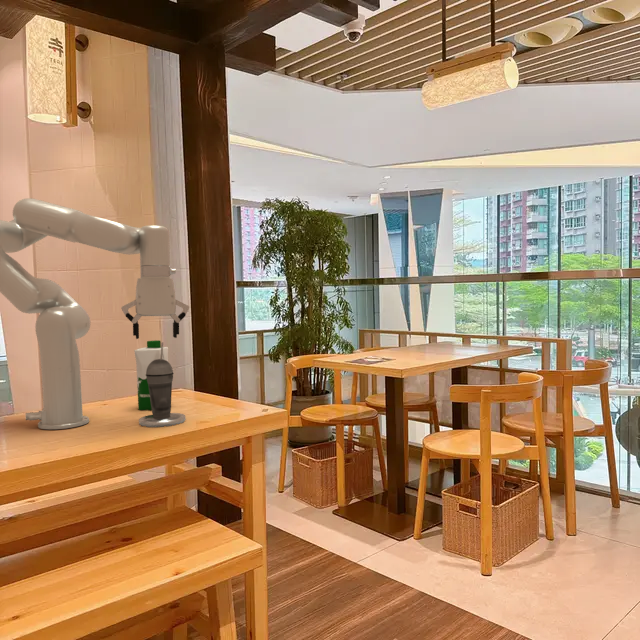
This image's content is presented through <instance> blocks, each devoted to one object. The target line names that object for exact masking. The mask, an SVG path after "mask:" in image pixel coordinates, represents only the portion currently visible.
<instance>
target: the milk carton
mask: <svg viewBox="0 0 640 640" xmlns="http://www.w3.org/2000/svg"><path fill="white" fill-rule="evenodd" d="M161 343H162V341H161V340H156V339H155V340H148V341H146V347H141V348H137V349H135V350H133V351H134V358H135V364H136V367H135V368H136V380H137V381H136V384H137V387H136V388H137V405H138V406H137V408H138V411H152V408H151V401H150V393H149V386H148V382H147V377H146V371H147V367H148V365H149V364H150V363H151V362H152V361H154V360H156V359H160V358H161ZM162 359H164V360H166V361H168V362H169V347H168V346H163V357H162Z"/></svg>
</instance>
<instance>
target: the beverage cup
mask: <svg viewBox="0 0 640 640" xmlns="http://www.w3.org/2000/svg"><path fill="white" fill-rule="evenodd" d="M163 347H164V342H162V341H161V358H160V359H156V360H154V361H152V362H151V363H150V364H149V365H148V367H147V371H146V377H147V382H148V386H149V393H150V401H151V408H152V410H151V413H152V414H151V415H153V418H154V419H164V418H169V417H170V413H172V412H171V411H172V392H173V391H172V389H173V386H172V385H173V380H174V370H173V367H172V365H171V363H170V362H169V360H168V361H166V360H164V359H162V357H163Z"/></svg>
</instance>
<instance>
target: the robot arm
mask: <svg viewBox="0 0 640 640" xmlns="http://www.w3.org/2000/svg"><path fill="white" fill-rule="evenodd" d="M12 217H13V219H11V220H10V221H7V220H2V219H0V294H1V295H3V296H4V298H5V299H7V300H8V301H9V302H10V303H11V304H12V306H14V307H15V308H16V310H18V311H20V312H21V313H25V314H39V315H38V316H37V318H36V321H35V326H34V327H35V329H34V330H35V336H36V339H37V343H38V349H39V355H40V356H39V358H40V370H41V383H42V385H41V387H42V405H43V407H42V409H41V410H38V412H37V411H36V412H25V421H37V420H38V421H39V422H38V423H37V427H38V429H41V430H66V429H71V428H76V427H81V426H84V425H86V424H88V423H89V422H90V417H89V416H87V415H83V413H84V412H83V397H82V380H81V379H82V378H81V377H82V376H81V364H80V361H81V360H80V351H79V347H78V344H77V341H76V340H78V339H81V338H83V337H84V336H86V334H88V333H89V331H90V328H91V317H90V316H89V315H90V314H88V312H87V311H86V309H85V308H84V307H82V305H81V304H79V302H77V301H76V300H75V298H73V297H72V296H71V295H70V294H69V293H68V291H66V290H65V288H63V287H62V286H61V285H59V284H58V283H57V282H55V281H53V280H51V279H49V278H48V279H47V278H39V277H35V276H33V275H32V274H31V273H30V272H28V270H26V269H25V268H24V267H23V266H22V265H21V264H20V263H19V262H18V261H17V260H16V259H14V258H13V257H11V256H10V255H9V254H12V253H17V252H20V251H22V250H24V249H26V248H28V247H30V246H32V245H34V244H36V243H37V242H39V241H40V240H44V239H45V238H47V237H48V236H49V237H53V238H55V239H60V240H64V241H66V242H69V243H74V244H75V243H78V244H82V245H86V246H90V247H93V248H97V249H101V250H105V251H108V252H112V253H116V254H123V255H137V254H139V265H140V266H139V269H140V270H139V272H140V274H139V275H140V278H139V277H138V278H137V279H136V286H135V299H134V300H132V301H130V302H128V303H126V304H124V305H122V306H121V310H122V312H123V314H124V316H125V317H126V318H127V319H128V320H129V321H130V322H131V323H132V335H133V336H134V337H135V339H136V340H138V339H140V328H139V327H140V325H139V320H140V319H141V318H142V317H166V316H169V317H171V319H173V322H172V337H173V338H174V339H177V336H178V335H180V322H181V321H183V319H184V318H185V317H186V316H187V314H188V311H189V309H190V305H187V304H186V303H184V302H181V301H179V300H178V299H176V291H175V284H174V279H173V278H171V276H172V275H176V268H172V267H171V266H170V264H171V261H170V253H171V252H170V249H171V247H170V231H169V229H168V228H167V227H166V226H163V225H156V224H155V225H152V224H151V225H144V226H141V227H135V226H131V225H128V224H125V223H121V222H117V221H114V220H113V221H112V220H110V219H105V218H103V217H99V216H95V215H90V214H88V213H84V212H83V211H81V210H78V209H75V208H71V207H67V206H62V205H59V204H55V203H52V202H47V201H44V200H41V199H36V198H32V197H31V198H29V197H28V198H23V199H20V200H19V201H17V202H16V203H15V204H14V206H13V209H12ZM134 306H135V313H136V314H135V316H133V315H132V314H131V313H130V312H129V309H131V308H133V307H134ZM177 307H179V308H182V311H181V312H180V314H179V315H177V314H176V312H177V310H176V308H177Z"/></svg>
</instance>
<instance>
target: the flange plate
mask: <svg viewBox="0 0 640 640" xmlns="http://www.w3.org/2000/svg"><path fill="white" fill-rule="evenodd" d="M186 419H187V418H186V414H183V413H181V412H180V413H178V412H171V413H170V417H169V418H164V419H154V418H153V414H149V415H144V416H142V417H139V418H138V426H140V425H141V426H140V427H143V426H146V427H145V428H165V427H164V426H166V427H172V425H173V426H177V425H176V424H178V425H180V423H181V424H183V423H185V422H186V421H185V420H186ZM184 421H185V422H184Z"/></svg>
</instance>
